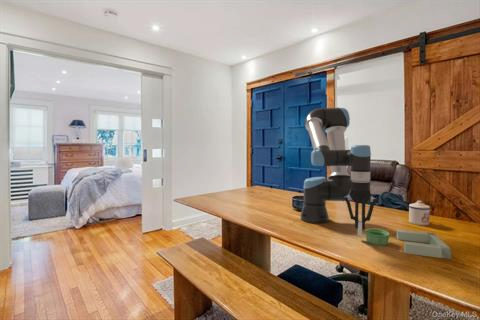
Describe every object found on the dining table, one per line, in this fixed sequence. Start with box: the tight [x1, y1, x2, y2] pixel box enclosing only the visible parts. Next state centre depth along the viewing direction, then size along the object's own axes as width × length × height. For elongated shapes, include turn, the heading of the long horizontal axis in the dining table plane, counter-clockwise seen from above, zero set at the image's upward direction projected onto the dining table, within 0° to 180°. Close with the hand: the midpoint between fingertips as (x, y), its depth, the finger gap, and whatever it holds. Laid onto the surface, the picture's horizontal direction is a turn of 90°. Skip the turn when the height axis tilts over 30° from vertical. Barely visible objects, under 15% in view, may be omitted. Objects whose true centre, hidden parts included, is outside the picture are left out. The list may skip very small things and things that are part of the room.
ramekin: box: [364, 228, 391, 246], centre depth 105 cm, size 9×9×4 cm
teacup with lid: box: [408, 200, 431, 226], centre depth 131 cm, size 12×9×12 cm
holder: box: [396, 229, 452, 260], centre depth 99 cm, size 14×18×4 cm
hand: (359, 236), depth 107 cm, fingers closed
